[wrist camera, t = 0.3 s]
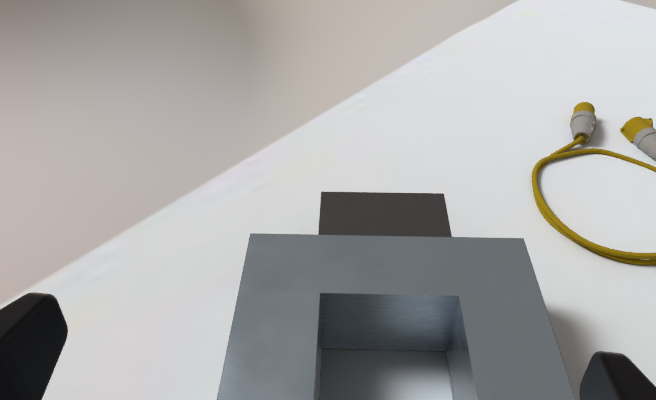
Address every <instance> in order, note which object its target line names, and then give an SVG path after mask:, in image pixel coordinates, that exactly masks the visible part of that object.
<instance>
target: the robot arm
mask: <svg viewBox="0 0 656 400" xmlns="http://www.w3.org/2000/svg"><path fill="white" fill-rule="evenodd" d="M67 333H68V328H67V324H66V321H65V319H64V316H63V314H62V311H61V309H60V306H59V304H58V301H57V299H56V298H55V297H54V296H53V295H51V294H43V293H28V294H26V295H24V296H22V297H20V298H19V299H17V300H15V301H14V302H12V303H10V304H9V305H7V306H5V307H4V308H2V309H1V310H0V400H42V397H43V395H44V393H45V390H46V388H47V385H48V383H49V380H50V378H51V376H52V373H53V371H54V368H55V366H56V363H57V361H58V359H59V356H60V354H61V351H62V349H63V346H64V344H65V342H66V339H67ZM580 400H656V387H655V386H654V384H653V383H652V382H651V381H650V380H649V379H648V378H647V377H646V376H645V375H644V374H643V373H642V372H641V371H640V370H639V369H638V368H637V367H636V366H635V364H634V363H633V362H632V361H631V360H630V359H629V358H628V357H626V356H625V355H623V354H620V353H613V352H603V351H598V352H596V353H594V354H593V356H592V358H591V360H590V363H589V365H588V367H587V370H586V372H585V374H584V377H583V379H582V381H581V384H580Z"/></svg>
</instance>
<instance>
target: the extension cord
mask: <svg viewBox="0 0 656 400" xmlns="http://www.w3.org/2000/svg"><path fill="white" fill-rule="evenodd" d="M594 112H595V109H594V106H593V105H592V104H590V103H588V102H582V103H579V104H577V105H576V106H575V108H574V114H573V115H572V118H571V124H570V126H571V130H572V134H573V139H574V141H573V142H572V143H570V144H568V145H567V146H565V147H563V148H561V149H559V150H558V151H556V152H554V153H552V154H551V155H550V156H548V157H545V158H543V159H541V160H540V161H539V162H538V163H537V164H536V165H535V167H534V169H533V172H532V185H533V192H534V197H535V201H536V204H537V207H538V209H539V210H540V212H541V214H542V215H543V217H544V218H545V219H546V220H547V221H548V222H549V223H550V224H551V225H552V226H553V227H554V228H555V229H556V230H558V231H559V232H560V233H561V234H563V235H565V236H566V237H568V238H569V239H571V240H572V241H574V242H576V243H577V244H579V245H581V246H583V247H586V248H588V249H590V250H592V251H594V252H596V253H598V254H600V255H602V256H604V257H607V258H611V259H614V260H617V261H620V262H624V263H630V264H638V265H656V253H632V252H624V251H619V250H614V249H610V248H606V247H603V246H600V245H597V244H595V243H592V242H590V241H588V240H586V239H584V238H582V237H581V236H579V235H578V234H576V233H575V232H573V231H572V230H571V229H569V228H568V227H567V226H566V225H565V224H563V223H562V222H561V221H560V220H559V219H558V218H557V217H556V216H555V215H554V213H553V212H552V211H551V210H550V208H549V207H548V206H547V204H546V203H545V201H544V199H543V197H542V196H541V193H540V191H539V188H538V184H537V173H538V171H539V170H540V169H541V168H542V167H543V166H545V165H546V164H547V163H548V161H551V160H555V159H559V158H563V157H567V156H572V155H577V154H584V153H599V154H605V155H609V156H613V157H616V158H619V159H622V160H625V161H628V162H631V163H634V164H637V165H640V166H643V167H645V168H648V169H650V170H652V171H655V172H656V167H654V166H651V165H649V164H647V163H644V162H641V161H638V160H635V159H633V158H630V157H627V156H624V155H621V154H618V153H614V152H611V151H608V150H603V149H594V148H592V149H580V150H575V151H569V152H565V151H567V150H568V149H570V148H572V147H574V146H575V145H577V144H585V143H587V142H589V140H590V138H591V135H592V133H593V131H594V129H595V126H596V116H595V114H594ZM621 132H622V133H623V135H624V136H625V137H626V138H627V139H628V140H629V141H630V142H631V143H634V144H635V145H636V146H637V148H638V149H640V150H641V151H643V152H644V153H645V154H646V155H648V156H649V157H651V158H652V159H654V160H656V130H655V129H654V128H653V122H652V119H651V118H650V119H643V118H641V117H635V118H632V119H630V120H629V121H627V122H626V123H625V125H624V126H623V127H622V128H621ZM563 152H564V153H563ZM546 162H547V163H546ZM643 259H649V260H643Z"/></svg>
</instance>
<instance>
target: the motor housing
mask: <svg viewBox="0 0 656 400" xmlns="http://www.w3.org/2000/svg"><path fill="white" fill-rule="evenodd" d="M322 348H328V349H368V350H407V351H446V353H447V360H448V367H449V374H450V381H451V388H452V395H453V400H576V399H575V396H574V393H573V390H572V387H571V384H570V381H569V378H568V374H567V371H566V368H565V365H564V362H563V359H562V356H561V353H560V350H559V347H558V343H557V340H556V337H555V334H554V331H553V328H552V325H551V322H550V319H549V316H548V313H547V309H546V306H545V303H544V300H543V297H542V294H541V291H540V288H539V285H538V282H537V279H536V275H535V272H534V269H533V266H532V263H531V260H530V257H529V254H528V251H527V248H526V244H525V241H524V238H469V237H452V236H451V231H450V225H449V220H448V214H447V209H446V204H445V198H444V194H432V193H365V192H321V206H320V220H319V234H318V235H300V234H250V238H249V243H248V248H247V253H246V258H245V263H244V267H243V272H242V277H241V282H240V287H239V292H238V297H237V302H236V307H235V312H234V317H233V322H232V327H231V332H230V337H229V342H228V346H227V351H226V356H225V361H224V366H223V371H222V376H221V381H220V386H219V391H218V396H217V400H319V394H320V375H321V356H322Z"/></svg>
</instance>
